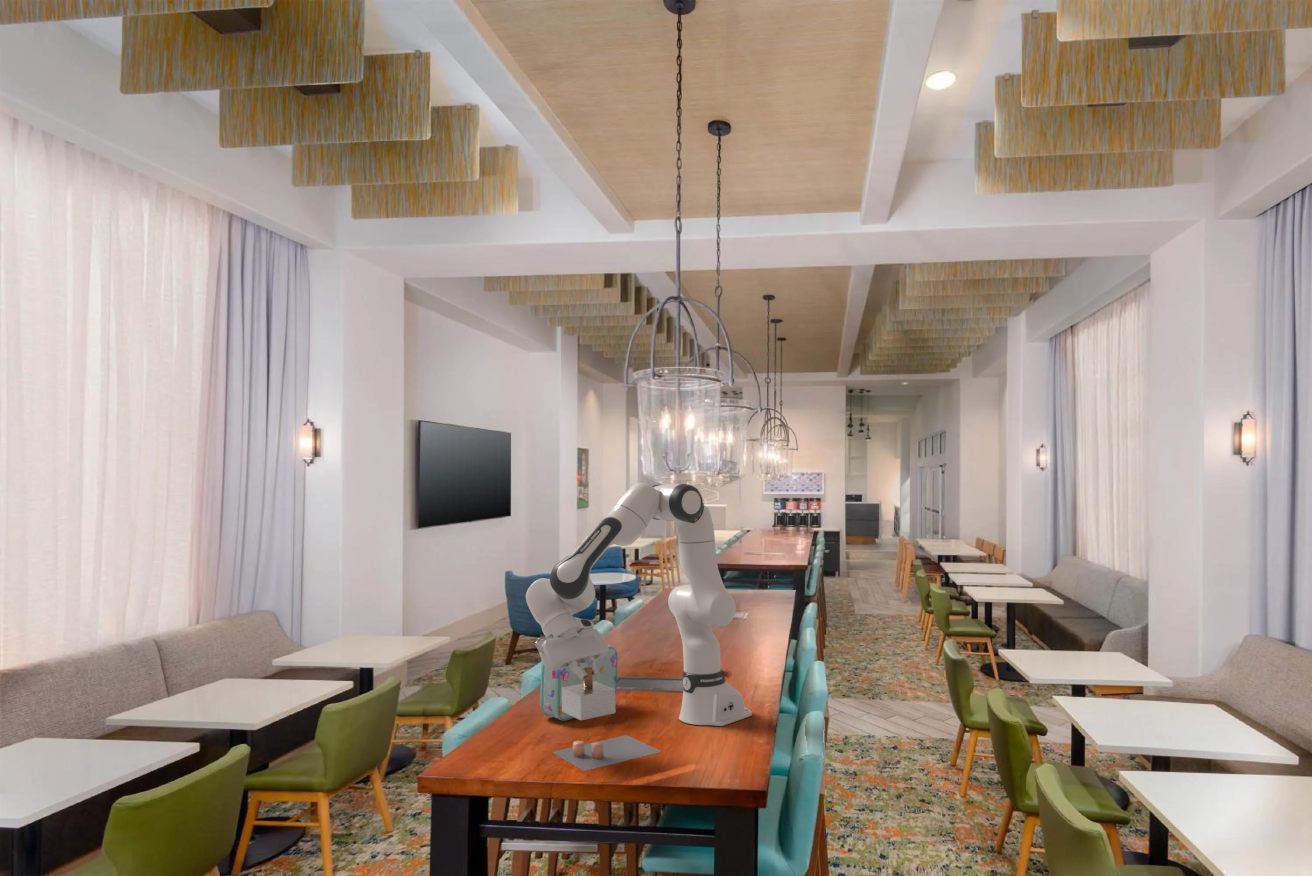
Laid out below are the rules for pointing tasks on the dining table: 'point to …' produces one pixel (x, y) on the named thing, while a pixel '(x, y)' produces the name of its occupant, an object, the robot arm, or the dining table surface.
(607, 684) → the lunch box
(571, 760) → the tray
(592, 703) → the steel cover
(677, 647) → the dining table surface
